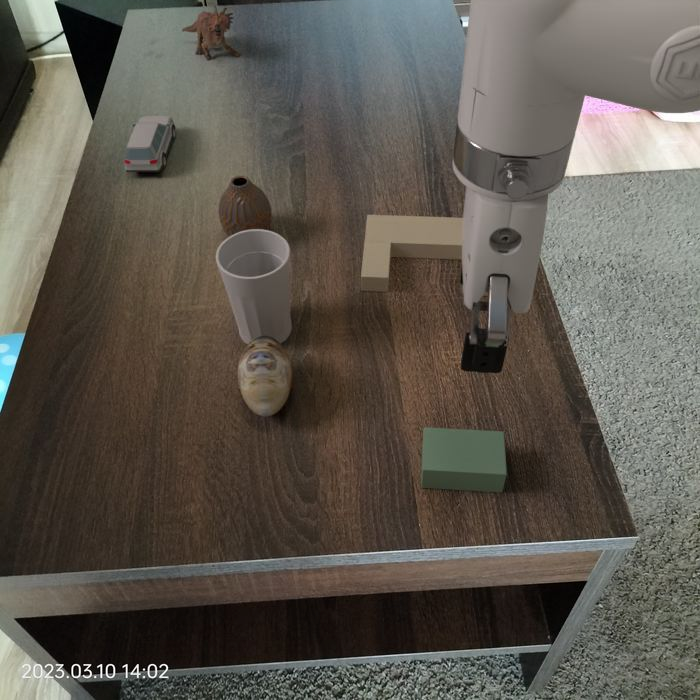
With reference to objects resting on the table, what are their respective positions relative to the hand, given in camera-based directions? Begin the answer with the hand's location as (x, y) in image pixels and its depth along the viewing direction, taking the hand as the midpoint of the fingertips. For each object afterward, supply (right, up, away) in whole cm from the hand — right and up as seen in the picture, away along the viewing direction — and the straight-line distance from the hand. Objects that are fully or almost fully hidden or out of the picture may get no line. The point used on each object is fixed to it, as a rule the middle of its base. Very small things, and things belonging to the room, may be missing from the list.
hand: (479, 324), depth 61 cm
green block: (0, -14, +13) cm, 19 cm away
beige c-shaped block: (-1, +9, +33) cm, 35 cm away
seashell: (-20, -7, +20) cm, 29 cm away
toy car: (-41, +28, +51) cm, 71 cm away
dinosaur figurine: (-35, +52, +71) cm, 95 cm away
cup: (-21, 0, +26) cm, 34 cm away
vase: (-25, +13, +38) cm, 47 cm away
